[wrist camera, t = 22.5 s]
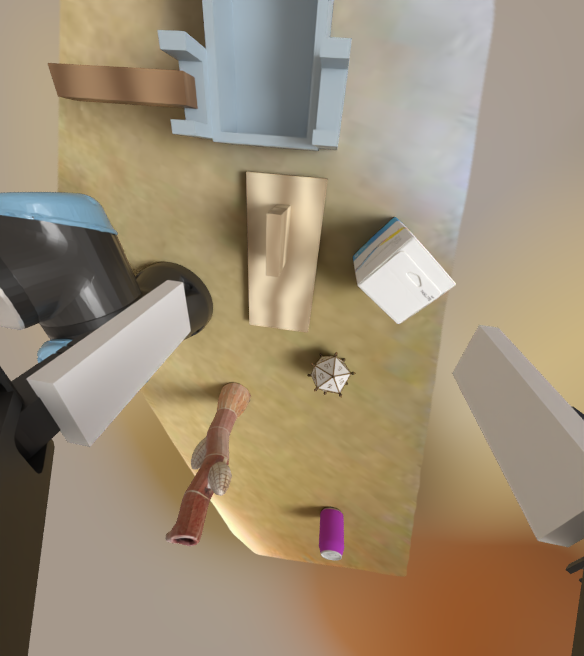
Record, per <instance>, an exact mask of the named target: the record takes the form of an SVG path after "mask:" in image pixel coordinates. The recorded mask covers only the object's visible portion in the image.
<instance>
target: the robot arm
mask: <svg viewBox="0 0 584 656" xmlns="http://www.w3.org/2000/svg"><path fill="white" fill-rule="evenodd" d="M117 235H118V233H117V232H116V231H115V230H114V229H113V227H112V225H111V223H110V221H109V219H108V217H107V215H106V213H105V211H104V209H103V207H102V206H101V205H100V203H99V202H98V201H96V200H95V199H94V198H92V197H90V196H88V195H85V194H80V193H62V192H9V193H0V327H6V328H11V329H17V330H22V329H25V328H28V327H30V326H33V325H35V324H37V323H39V324H40V325H41V326H42V328H43V329H44V331H45V332H46V334H47V335H48V337H49V338H50V341H47V342H45V343H44V344H43V345H42V347H41V348H40V349H39V351H38V354H37V356H38V358H37V359H38V364H37V365H35V366H34V367H32V368H31V369H29V370H28V371H26V372H25V373H24V374H22V375H20V376H19V377H18V378H16V379H14V380H13V381H10V380H9V378H8V377H7V375H6V374H5V372H4V371H3V370H2V368H1V367H0V656H28V649H29V641H30V633H31V625H32V618H33V610H34V602H35V594H36V587H37V579H38V571H39V564H40V556H41V548H42V540H43V532H44V525H45V517H46V509H47V501H48V494H49V486H50V478H51V470H52V462H53V455H54V442H53V440H52V438H53V437H54V436H55V435H56V434H57V433H58V432H59V431H61V433H62V434H63V436H64V437H65V439H66V440H67V442H70V443H75V444H79V445H84V446H89V447H90V446H91V445H92V444H93V443H94V441H95V440H96V439H97V438H98V437H99V436H100V435H101V434H102V432H103V431H104V430H105V429H106V428H107V427H108V426H109V424H110V423H111V422H112V421H113V420H114V419H115V418H116V416H117V415H118V414H119V413H120V412H121V411H122V409H123V408H124V407H125V406H126V405H127V404H128V403H129V401H130V400H131V399H132V398H133V397H134V396H135V395H136V393H137V392H138V391H139V390H140V389H141V388H142V387H143V386H144V384H145V383H147V382H148V380H149V379H150V378H151V376H152V375H153V374H154V373H155V372H156V371H157V369H158V368H159V367H160V366H161V365H162V364H163V363H164V361H165V360H166V359H167V358H168V357H169V356H170V355H171V353H172V352H173V351H174V350H175V349H176V348H177V347H178V345H179V344H180V343H181V342H182V341H183V340H185V339H187V338H189V337H191V336H193V335H195V334H197V333H199V332H200V331H201V330H202V329H203V328H204V327H205V326H206V325H207V323H208V322H209V321H210V319H211V317H212V313H213V303H212V298H211V295H210V293H209V291H208V289H207V287H206V286H205V284H204V283H203V282H202V281H201V280H200V278H198V277H197V276H196V275H195V274H194V273H193V272H191V271H190V270H188V269H187V268H185V267H183V266H180V265H178V264H174V263H169V262H159V263H155V264H152V265H150V266H148V267H147V268H145V269H143V270H142V271H141V272H139V273H138V274H137V276H136V277H135V276H134V274H133V271H132V269H131V267H130V264H129V262H128V260H127V258H126V255H125V253H124V251H123V248H122V246H121V244H120V241H119V239H118V237H117ZM452 374H453V376H454V378H455V380H456V381H457V384H458V386H459V388H460V390H461V392H462V394H463V395H464V398H465V399H466V401H467V403H468V405H469V407H470V409H471V411H472V413H473V415H474V417H475V419H476V421H477V423H478V425H479V427H480V429H481V431H482V433H483V435H484V437H485V438H486V440H487V442H488V444H489V446H490V448H491V450H492V452H493V454H494V456H495V458H496V460H497V462H498V464H499V466H500V468H501V470H502V472H503V474H504V476H505V478H506V480H507V482H508V483H509V485H510V487H511V489H512V491H513V493H514V495H515V497H516V499H517V501H518V503H519V505H520V507H521V509H522V511H523V513H524V515H525V517H526V518H527V521H528V522H529V524H530V526H531V528H532V530H533V532H534V534H535V536H536V538H537V540H538V541H542V542H546V543H552V544H556V545H561V546H566V547H570V546H571V545H573V544H575V543H577V542H578V541H580V540H582V539H583V538H584V414H582V413H581V412H580V411H578V410H577V409H576V408H574V407H571V406H570V405H569V404H568V403H567V402H566V401H565V400H564V398H563V397H562V396H561V395H560V394H559V393H558V392H557V391H556V390H555V389H554V387H552V385H551V384H550V383H549V382H548V381H547V380H546V379H545V378H544V377H543V376H542V374H541V373H540V372H539V371H538V370H537V369H536V368H535V367H534V366H533V365H532V364H531V363H530V362H529V360H528V359H527V358H526V357H525V356H524V355H523V354H522V353H521V352H520V351H519V350H518V348H517V347H516V346H515V345H514V344H513V343H512V342H511V341H510V340H509V339H508V338H507V337H506V336H505V334H504V333H503V332H502V331H501V330H500V329H499V328H496V327H489V326H482V325H479V326H478V328H477V330H476V332H475V334H474V335H473V337H472V339H471V341H470V342H469V344H468V346H467V348H466V350H465V351H464V353H463V355H462V357H461V358H460V360H459V362H458V364H457V366H456V367H455V369H454V371H453V373H452ZM580 569H584V557H582V558H580V559H578V560H576V561H574V562H572V563H571V564H569V565H568V567H567V568H566V571H568V572H569V573H570V574H572V573H574V572H576V571H578V570H580ZM579 581H580V582H582V585H581V592H580V599H579V607H578V613H577V621H576V627H575V635H574V641H573V648H572V656H584V571H583V578H581V579H579Z"/></svg>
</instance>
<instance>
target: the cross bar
mask: <svg viewBox="0 0 584 656" xmlns="http://www.w3.org/2000/svg"><path fill="white" fill-rule="evenodd" d="M48 66H49V69H50V73H51V76H52V79H53V82H54V85H55V88H56V91H57V95H58V96H59V97H63V98H68V99H72V100H77V101H89V102H103V103H118V104H133V105H147V106H162V107H177V108H191V109H198V106H197V96H196V86H195V77H193V76H191V75H190V74H188V73H186V72H184V71H181V70H163V69H145V68H128V67H110V66H92V65H74V64H56V63H48Z"/></svg>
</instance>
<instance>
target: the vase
mask: <svg viewBox="0 0 584 656" xmlns="http://www.w3.org/2000/svg"><path fill="white" fill-rule="evenodd" d="M250 397H251V395H250V393H249V391H248V389H247V388H245V387H244V386H242V385H241V384H238V383H229V384H227V385H225V386H223V388H222V390H221V393H220V396H219V400H218V407H217V413H216V415H215V417H214V419H213V421H212V423H211V425H210V427H209V430H208V432H207V436H206V437H205V438H204V439H203V440H202V441H201V442H200V443H199V444H198V445H197V446H196V448H195V450H194V452H193V455H192V459H191V466H192V469H198V468H200V469H199V470H198V472H197V474H196V476H195V477H194V479H193V481H192V482H191V484H190V486H189V487H188V489H187V490H186V492H185V494H184V497H183V499H182V503H181V507H180V511H179V515H178V518H177V522H176V524H175V525H174V527H173V528H172V530H171V531H170V532H168V533H167V534H166V541H168V542H171V543H179V544H183V545H187V546H193V545H196V544H197V543H199V541H200V538H201V535H202V530H203V526H204V521H205V517H206V512H207V509H208V505H209V502H210V499H211V497H212V495H213V493H215V494H217V495H223V494H225V493H226V491H227V489H228V487H229V484H230V481H231V478H232V474H231V471H230V468H229V466H228V464H229V436H230V433H231V430H232V427H233V425H234V423H235V421H236V419H237V418H238V417H239V416H240V415H241V414H242V413H243V412H244V410H245V409H246V407H247V405H248V403H249V401H250Z"/></svg>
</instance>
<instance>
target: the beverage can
mask: <svg viewBox="0 0 584 656" xmlns="http://www.w3.org/2000/svg"><path fill="white" fill-rule="evenodd" d="M319 548H320V552H321V556H322V557H324V558H326V559H329V560H340V559H341V557H342V554H343V550H344V522H343V514H342V513H341V511H340V510H338V509H336V508H332V507H328V508H324V509H323V510H322V511H321V514H320V534H319Z"/></svg>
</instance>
